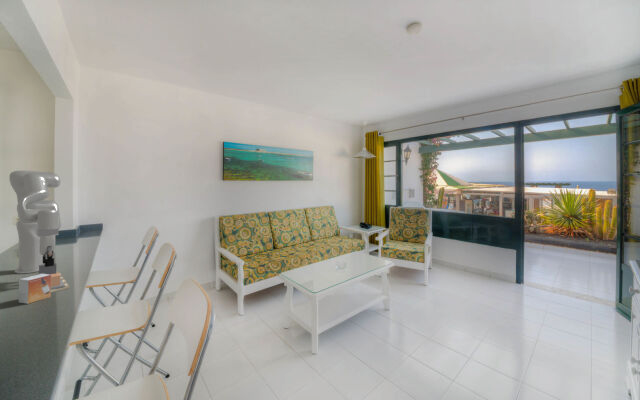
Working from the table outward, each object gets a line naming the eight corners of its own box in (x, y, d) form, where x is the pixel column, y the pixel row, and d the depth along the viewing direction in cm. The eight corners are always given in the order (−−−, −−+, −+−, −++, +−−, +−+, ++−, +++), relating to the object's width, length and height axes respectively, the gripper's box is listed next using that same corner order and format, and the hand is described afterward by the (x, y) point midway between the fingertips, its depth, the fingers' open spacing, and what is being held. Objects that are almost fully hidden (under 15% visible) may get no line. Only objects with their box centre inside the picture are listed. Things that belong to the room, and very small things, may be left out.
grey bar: (35, 280, 128) (36, 265, 128) (58, 276, 135) (58, 262, 135) (40, 291, 115) (40, 275, 115) (64, 286, 122) (64, 271, 121)
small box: (27, 304, 105) (27, 280, 105) (18, 302, 106) (18, 279, 106) (51, 296, 113) (51, 274, 113) (42, 295, 114) (42, 273, 114)
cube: (43, 285, 120) (43, 275, 120) (58, 282, 124) (58, 273, 124) (44, 288, 117) (44, 277, 117) (59, 285, 121) (60, 275, 121)
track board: (29, 278, 134) (29, 276, 134) (59, 273, 142) (59, 271, 142) (35, 295, 114) (35, 293, 114) (69, 288, 123) (69, 286, 123)
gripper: (35, 231, 132) (35, 263, 132) (39, 235, 122) (39, 269, 122) (56, 230, 138) (56, 260, 138) (60, 233, 128) (61, 266, 128)
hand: (48, 264), depth 130 cm, fingers open, 9 cm apart
